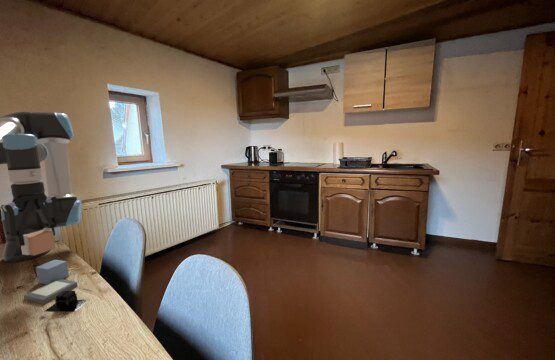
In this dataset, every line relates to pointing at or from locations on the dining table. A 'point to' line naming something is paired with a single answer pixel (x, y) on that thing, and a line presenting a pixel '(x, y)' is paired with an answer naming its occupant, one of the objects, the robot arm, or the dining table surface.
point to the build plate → (66, 302)
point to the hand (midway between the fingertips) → (38, 249)
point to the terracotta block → (41, 242)
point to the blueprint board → (50, 291)
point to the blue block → (52, 271)
